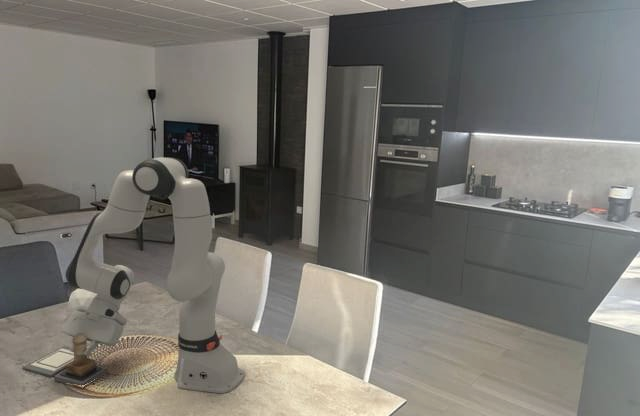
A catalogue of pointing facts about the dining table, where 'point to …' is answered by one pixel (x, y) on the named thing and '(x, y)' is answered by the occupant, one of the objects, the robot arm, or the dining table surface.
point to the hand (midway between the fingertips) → (78, 353)
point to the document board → (51, 362)
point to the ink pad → (81, 381)
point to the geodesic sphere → (80, 299)
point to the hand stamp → (80, 358)
